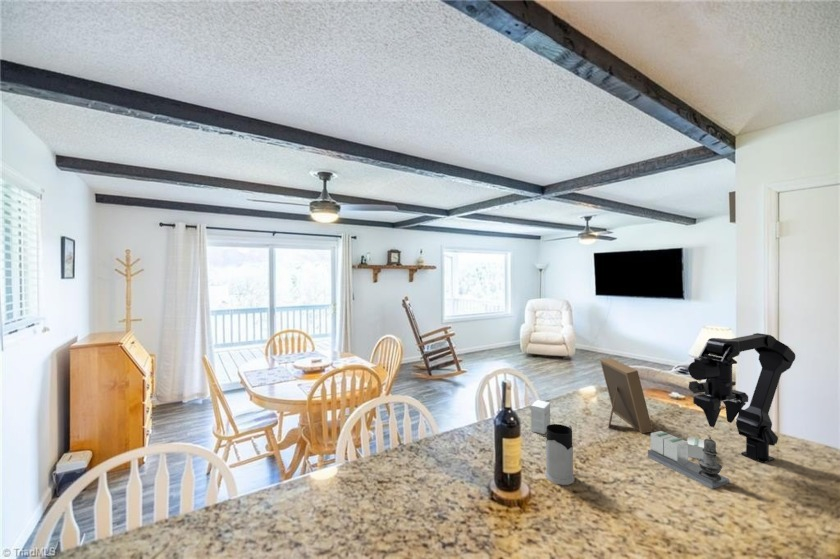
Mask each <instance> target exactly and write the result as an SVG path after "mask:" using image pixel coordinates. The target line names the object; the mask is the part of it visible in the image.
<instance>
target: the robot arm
mask: <svg viewBox="0 0 840 559" xmlns="http://www.w3.org/2000/svg"><path fill="white" fill-rule="evenodd" d="M750 350H754V351H755V352H756V353H757V354H759V355H758V361H759V364H760V366H761V370H760V373H759V376H758V379H757V382H756V385H755V388H754V391H753V394H752V397H751V400H750V404H749V405H748V407H747V408H745V409H743V407H744V406H745V405H746V404H747V403H749V395H748V394H747V393H746V392H743V391H740V390H737V389H733V386H736V381H733V365H736V364H738V361H737V360H736V359H735V357H738V356H740V353H741V352H745V351H750ZM693 360H694V361H693V362H691V363H690V364H689V365H688V367H687V370H688V374H689V376H690V377H691V378H692V379H694V381H692V380H691V381H689V382H688V390H689V391H691V392H692V394H695V396H693V397H692V398H693V399H692V403H693V405H696V406H697V407H698V408H700V409H702V411H703V413H704V415H705V418H706V420H707V422H708V425H709V427H710V428H714V427H715V426H716V423H717V421H718V418H719V416H720V412H721V410H722V408H721V404H722V403H723V404H724V406H725V414H726V421H727V423H730V424H731V423H733V421H734V420H736V421H735V425H736V428H737V432H738V435H740V436H743V437H746V438H745V439H746V440H745V451H742V452H740V455H742V456H745V457H747V458H750V459H752V460H755V461H757V462H760V463H763V464H766V463H768V462H770V461H771V462H772V461H774V460H775V457H774V456H770V446H773V447H775V446H776V445H777V444H778V440H779V437H778V435H777V434H776V433H775V432H774V431H773V429H772V427H773V423H772V422H773V421H772V420H771V417H770V413H769V412H770V410H771V407H772V403H773V401H774V397H775V394H776V391H777V388H778V385H779V382H780V379H781V377H782V375H783V373H785V372H787V371H788V370H789V369H791V367H792V365H793V363H794V361H795V360H796V353H795V352H794V351H793V350H792V348H790V346H788V345H787V344H785V343H783V342H782V341H779V340H777V339H776V337H775V336H773V335H771V334H766V333H759V332H757V333H752V334H749V335H744V336H739V337H735V338H720V337H719V338H718V337H711V338H709V339H708V340H707V342H706V343H705V344H704V346H703V348H702V350H701V351H700V353H699V355H698V357H696V358H694V359H693ZM703 380H705V382H702V381H703ZM699 381H701V382H699ZM697 393H702V394H698V395H697ZM703 393H704V394H703Z"/></svg>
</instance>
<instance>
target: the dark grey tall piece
mask: <svg viewBox="0 0 840 559" xmlns="http://www.w3.org/2000/svg"><path fill="white" fill-rule="evenodd" d="M703 440H704V449H702V450H703V451H704V457H703V459H697V463H698V465H699V466H700V468H701V469H702V470H701V471H699V474H702V475H704V476H706V477H708V478H710V479H712V480H720V479H721V477H720V476H719V475H720V472H721V471H722V469H723V465H722V464H720V463H719V462H718V461H717V455H718V452H717V442H716V441H715V440H714V439H712V437H711V436H708V438H705V439H703ZM718 474H719V475H718Z"/></svg>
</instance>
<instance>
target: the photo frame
mask: <svg viewBox="0 0 840 559" xmlns="http://www.w3.org/2000/svg"><path fill="white" fill-rule="evenodd" d="M599 362H600V365H601V369H602V373H603V377H604V381H605V386H606V388H607V392H608V396H609V400H610V404H611V412H610V415H609V421H608V428H607V429H610V428H611V425H612V419H613V413H614V414H615V415H616V416H617V417H618V418H620V419H622V420H623V421H625V423H627V424H629V425H630V426H631V427H633V428H634V429H636V431H638V432H640V434H646V433H650V432H651V433H652V432H653V427H652V423H651V418H650V415H649V410H648V407H647V403H646V399H645V395H644V391H643V390H644V389H643V387H642V386H643V385H642V384H641V379H640V375H639V370H638V369H635V368H633V367H631V366H629V365H626V364H624V363H622V362H619V361H618V360H615V359H614V358H611V357H606V358H603V359H600V361H599Z"/></svg>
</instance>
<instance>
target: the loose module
mask: <svg viewBox="0 0 840 559" xmlns="http://www.w3.org/2000/svg"><path fill="white" fill-rule="evenodd" d="M704 440H705V439H700V438H698V437H691V436H687V440H686V441H687V442H688V458H692V459H695V460H699V459H703V457H704V451H703V450H702V449H704Z"/></svg>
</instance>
